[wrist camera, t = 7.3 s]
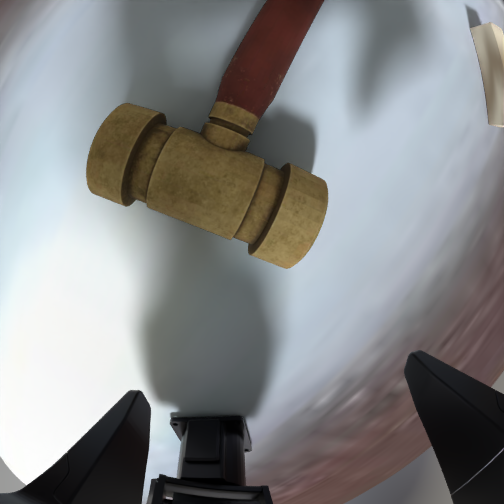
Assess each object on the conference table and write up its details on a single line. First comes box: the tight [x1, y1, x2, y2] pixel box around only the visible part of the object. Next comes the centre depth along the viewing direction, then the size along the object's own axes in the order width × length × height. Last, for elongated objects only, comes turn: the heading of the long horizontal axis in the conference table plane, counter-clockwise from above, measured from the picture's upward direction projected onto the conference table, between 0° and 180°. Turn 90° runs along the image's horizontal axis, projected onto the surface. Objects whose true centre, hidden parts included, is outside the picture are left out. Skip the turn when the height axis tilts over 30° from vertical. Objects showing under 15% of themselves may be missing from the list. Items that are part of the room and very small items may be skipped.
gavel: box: [86, 0, 328, 269], centre depth 10 cm, size 21×5×10 cm
